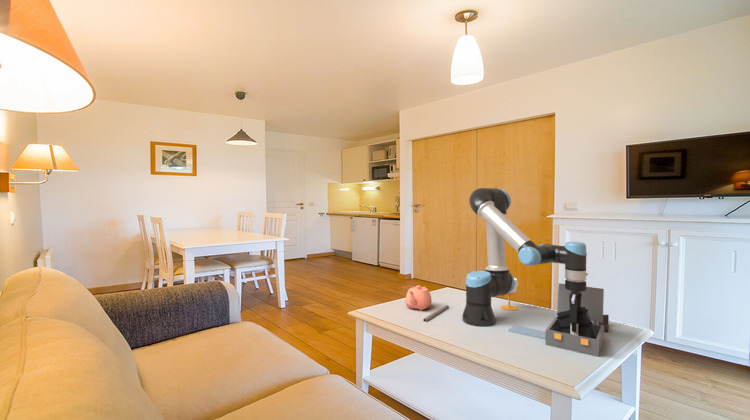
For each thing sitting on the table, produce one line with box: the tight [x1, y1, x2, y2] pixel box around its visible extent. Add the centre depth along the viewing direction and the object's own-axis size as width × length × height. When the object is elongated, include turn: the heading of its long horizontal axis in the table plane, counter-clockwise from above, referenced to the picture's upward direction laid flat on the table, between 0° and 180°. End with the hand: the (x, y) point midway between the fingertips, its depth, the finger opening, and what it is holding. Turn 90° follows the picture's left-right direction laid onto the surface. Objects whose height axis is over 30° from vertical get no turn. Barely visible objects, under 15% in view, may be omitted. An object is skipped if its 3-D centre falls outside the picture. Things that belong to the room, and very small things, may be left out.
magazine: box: [556, 307, 596, 339], centre depth 140 cm, size 4×13×15 cm, turn 42°
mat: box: [507, 324, 546, 340], centre depth 151 cm, size 15×8×1 cm, turn 52°
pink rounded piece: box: [404, 285, 432, 312], centre depth 187 cm, size 13×20×12 cm, turn 148°
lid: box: [556, 283, 605, 323], centre depth 149 cm, size 17×14×1 cm
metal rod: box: [422, 304, 450, 323], centre depth 177 cm, size 2×27×2 cm, turn 146°
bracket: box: [592, 313, 610, 333], centre depth 157 cm, size 6×12×5 cm, turn 145°
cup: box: [500, 277, 519, 311], centre depth 187 cm, size 9×9×16 cm
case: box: [545, 316, 605, 358], centre depth 141 cm, size 18×25×16 cm
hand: (575, 337), depth 140 cm, fingers closed on magazine, 4 cm apart
